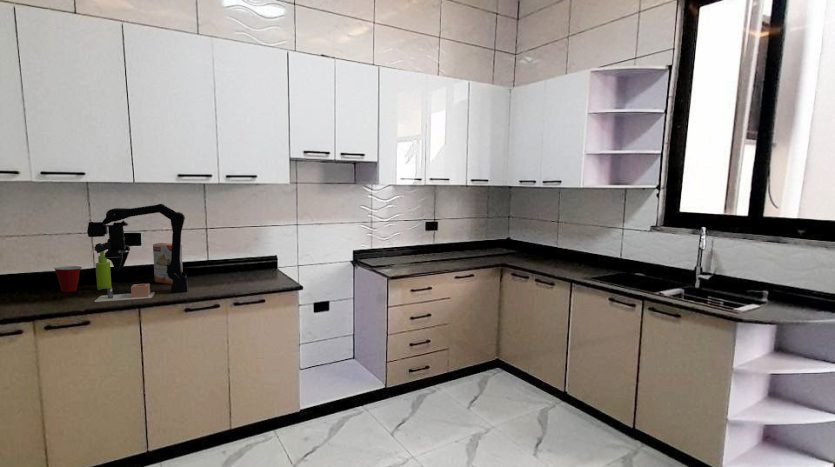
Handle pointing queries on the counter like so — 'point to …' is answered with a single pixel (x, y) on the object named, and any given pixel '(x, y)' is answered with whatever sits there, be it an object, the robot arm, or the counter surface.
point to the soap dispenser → (103, 272)
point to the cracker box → (163, 261)
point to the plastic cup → (68, 277)
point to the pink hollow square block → (140, 290)
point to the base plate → (121, 297)
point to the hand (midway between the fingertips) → (119, 269)
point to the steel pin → (110, 292)
